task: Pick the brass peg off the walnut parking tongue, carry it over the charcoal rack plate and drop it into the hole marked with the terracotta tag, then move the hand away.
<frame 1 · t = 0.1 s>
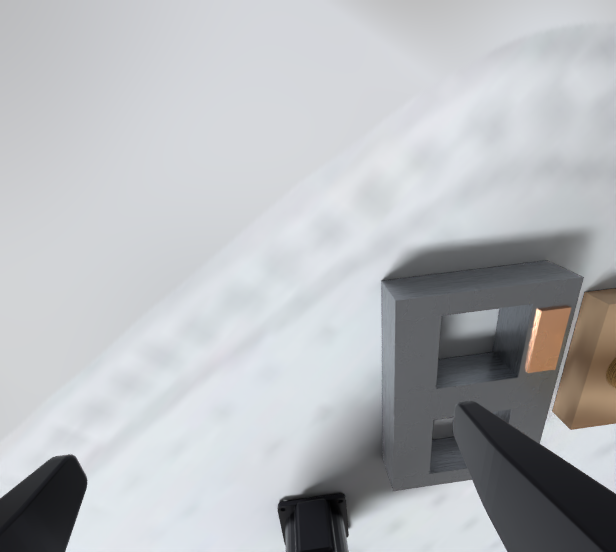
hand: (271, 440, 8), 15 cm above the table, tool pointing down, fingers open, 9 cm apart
rack plate: (454, 372, 26), on the table
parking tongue: (607, 351, 27), on the table
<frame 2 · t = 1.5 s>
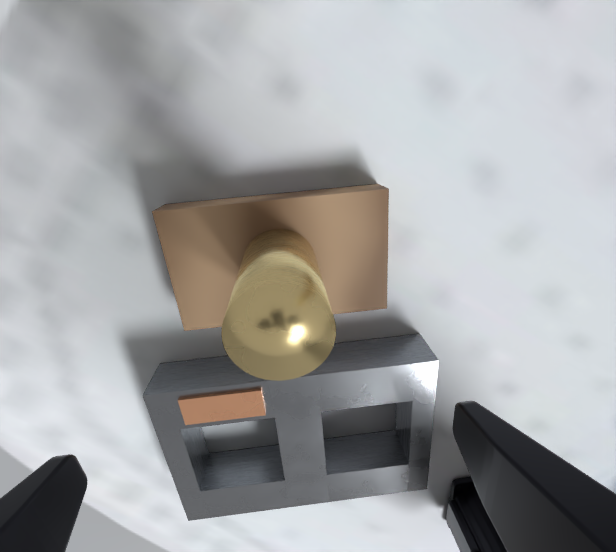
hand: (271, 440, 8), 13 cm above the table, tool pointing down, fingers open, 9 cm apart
brass peg: (280, 264, 18), point 2 cm above the table, touching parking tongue
rack plate: (299, 413, 25), on the table
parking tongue: (280, 252, 20), on the table
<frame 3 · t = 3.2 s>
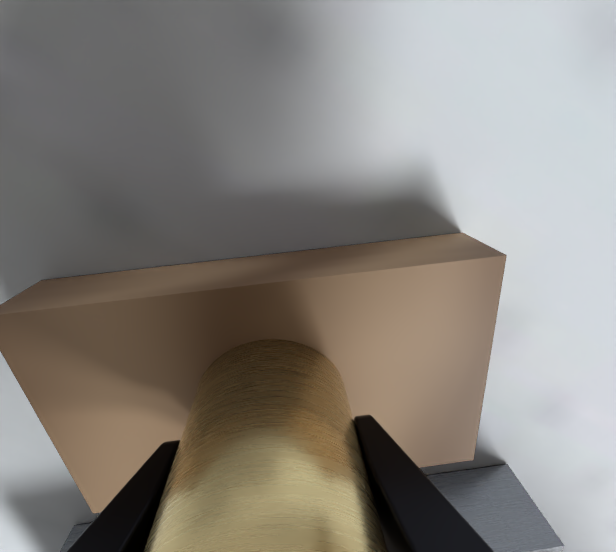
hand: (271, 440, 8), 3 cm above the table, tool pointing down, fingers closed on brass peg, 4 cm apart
brass peg: (272, 401, 9), point 2 cm above the table, touching gripper, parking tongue
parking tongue: (273, 355, 11), on the table
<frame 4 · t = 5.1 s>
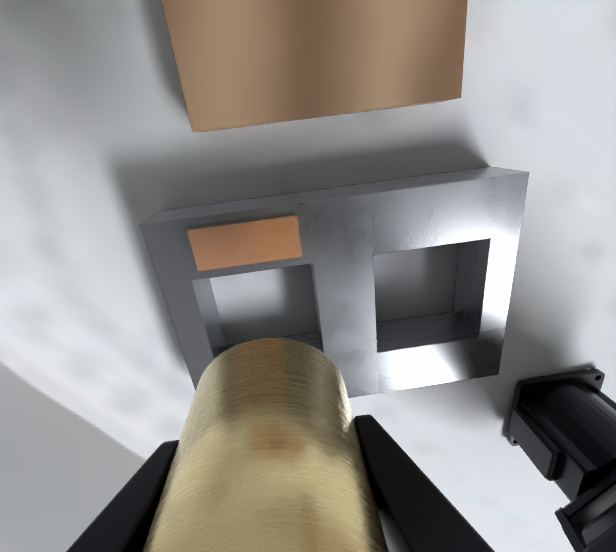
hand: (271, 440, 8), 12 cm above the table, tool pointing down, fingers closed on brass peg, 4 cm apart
brass peg: (272, 400, 9), point 11 cm above the table, touching gripper
rack plate: (337, 287, 20), on the table
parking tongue: (315, 31, 15), on the table
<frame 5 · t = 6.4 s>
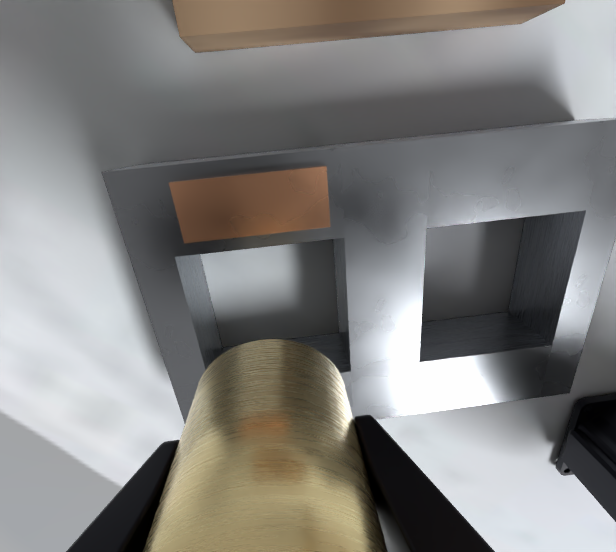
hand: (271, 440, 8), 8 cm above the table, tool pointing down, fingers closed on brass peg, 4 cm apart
brass peg: (272, 401, 9), point 7 cm above the table, touching gripper
rack plate: (366, 276, 16), on the table
when the fingers open (5 cm above the table, at t = 7.3 s): brass peg drops 4 cm, resting in rack plate.
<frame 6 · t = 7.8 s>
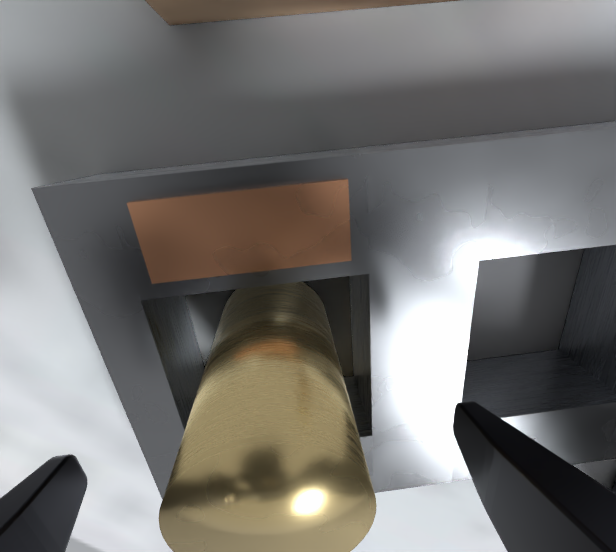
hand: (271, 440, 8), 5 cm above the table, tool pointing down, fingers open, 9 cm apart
brass peg: (275, 323, 12), resting in rack plate
rack plate: (389, 310, 13), on the table
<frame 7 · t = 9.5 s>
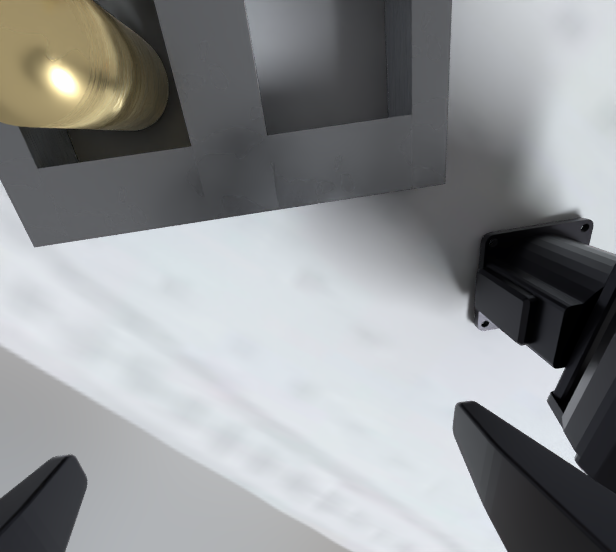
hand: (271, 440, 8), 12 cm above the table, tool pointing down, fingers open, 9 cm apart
brass peg: (121, 81, 14), resting in rack plate
rack plate: (221, 67, 14), on the table
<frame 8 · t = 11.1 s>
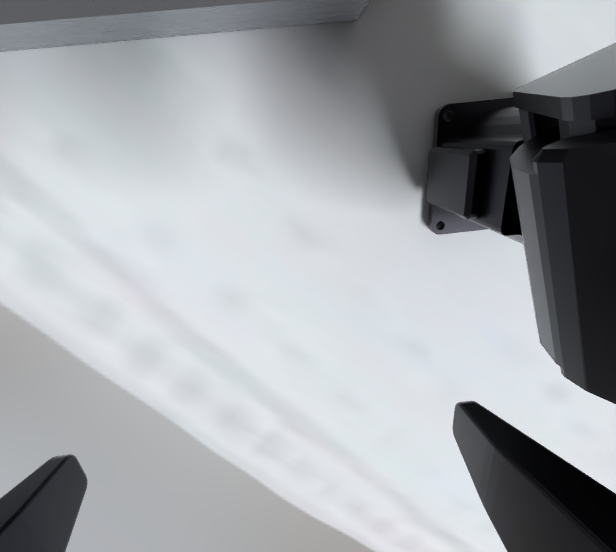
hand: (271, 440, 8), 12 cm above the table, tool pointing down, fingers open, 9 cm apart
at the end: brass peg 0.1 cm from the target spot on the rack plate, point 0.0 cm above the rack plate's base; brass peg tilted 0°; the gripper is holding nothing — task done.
